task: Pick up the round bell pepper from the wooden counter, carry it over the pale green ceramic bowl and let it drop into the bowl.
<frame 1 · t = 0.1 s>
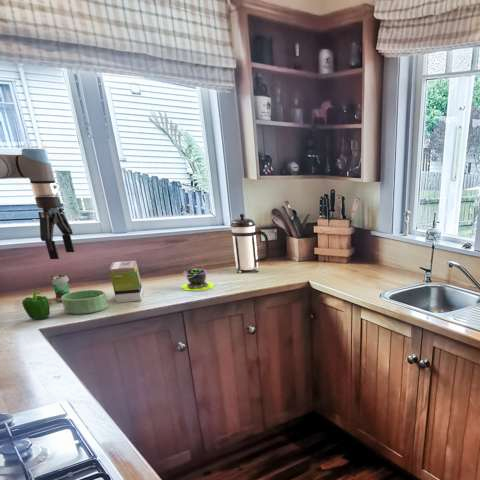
hand: (62, 255, 177), 22 cm above the worktop, tool pointing down, fingers open, 13 cm apart
bowl: (87, 309, 190), on the worktop
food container: (65, 299, 203), on the worktop
tea box: (130, 297, 206), on the worktop
toy cauldron: (198, 287, 224), on the worktop
coffee press: (250, 270, 257), on the worktop
bell pepper: (40, 318, 179), on the worktop
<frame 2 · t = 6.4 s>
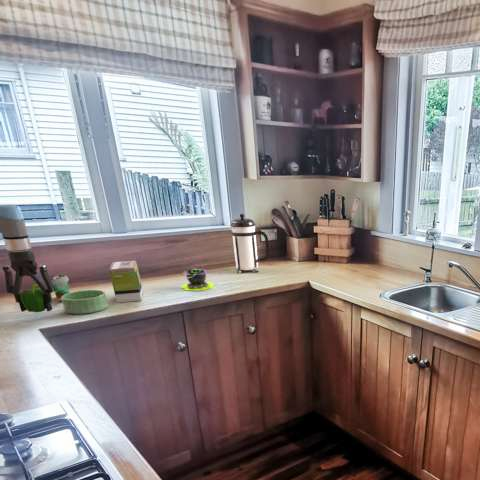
hand: (37, 310, 178), 3 cm above the worktop, tool pointing down, fingers closed on bell pepper, 8 cm apart
bell pepper: (38, 311, 178), point 3 cm above the worktop, touching gripper
everything else where it was.
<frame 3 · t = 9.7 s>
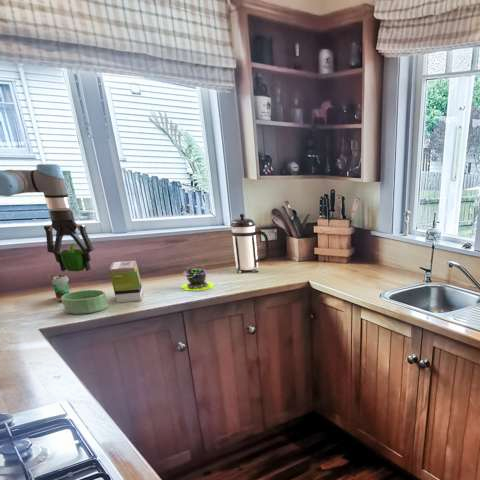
hand: (76, 270, 183), 16 cm above the worktop, tool pointing down, fingers closed on bell pepper, 8 cm apart
bell pepper: (77, 271, 183), point 16 cm above the worktop, touching gripper
everything else where it was.
when the fingers open (3 cm above the worktop, at t = 13.2 s): bell pepper drops 2 cm, resting on bowl.
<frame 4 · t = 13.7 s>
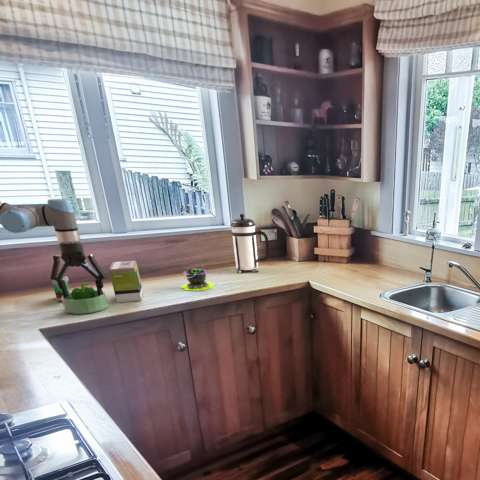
hand: (83, 296, 188), 5 cm above the worktop, tool pointing down, fingers open, 12 cm apart
bell pepper: (87, 308, 190), resting on bowl
everything else where it was.
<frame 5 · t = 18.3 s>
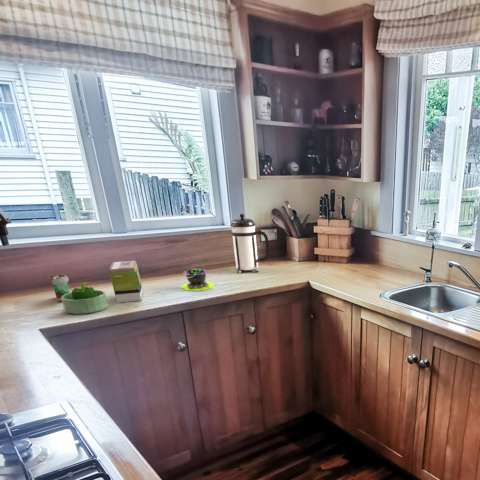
nothing on the worktop moved.
at the end: bell pepper inside the target area in the bowl (0.3 cm from its centre), point 0.4 cm above the bowl's base; the gripper is holding nothing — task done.
